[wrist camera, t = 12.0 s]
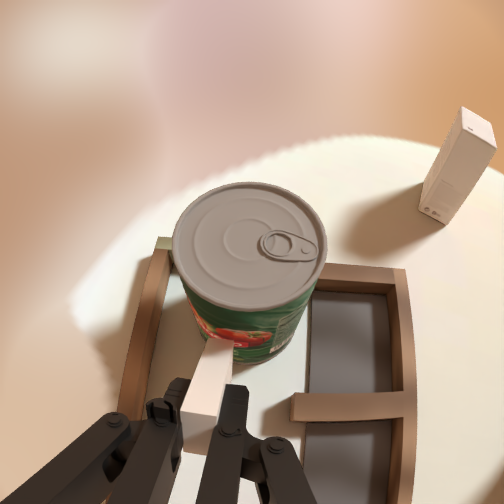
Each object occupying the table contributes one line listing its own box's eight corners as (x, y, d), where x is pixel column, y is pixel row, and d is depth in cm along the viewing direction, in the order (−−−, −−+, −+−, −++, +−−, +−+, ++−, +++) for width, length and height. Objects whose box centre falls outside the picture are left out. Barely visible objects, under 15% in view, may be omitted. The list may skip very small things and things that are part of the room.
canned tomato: (185, 350, 23) (145, 285, 14) (214, 266, 27) (200, 171, 18) (286, 375, 22) (316, 326, 13) (304, 286, 26) (333, 196, 17)
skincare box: (447, 227, 30) (498, 150, 20) (416, 210, 31) (461, 127, 21) (451, 195, 33) (492, 122, 23) (423, 180, 34) (459, 103, 24)
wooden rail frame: (382, 584, 11) (391, 592, 9) (114, 568, 12) (104, 576, 10) (394, 269, 27) (403, 257, 25) (163, 250, 28) (158, 236, 26)
